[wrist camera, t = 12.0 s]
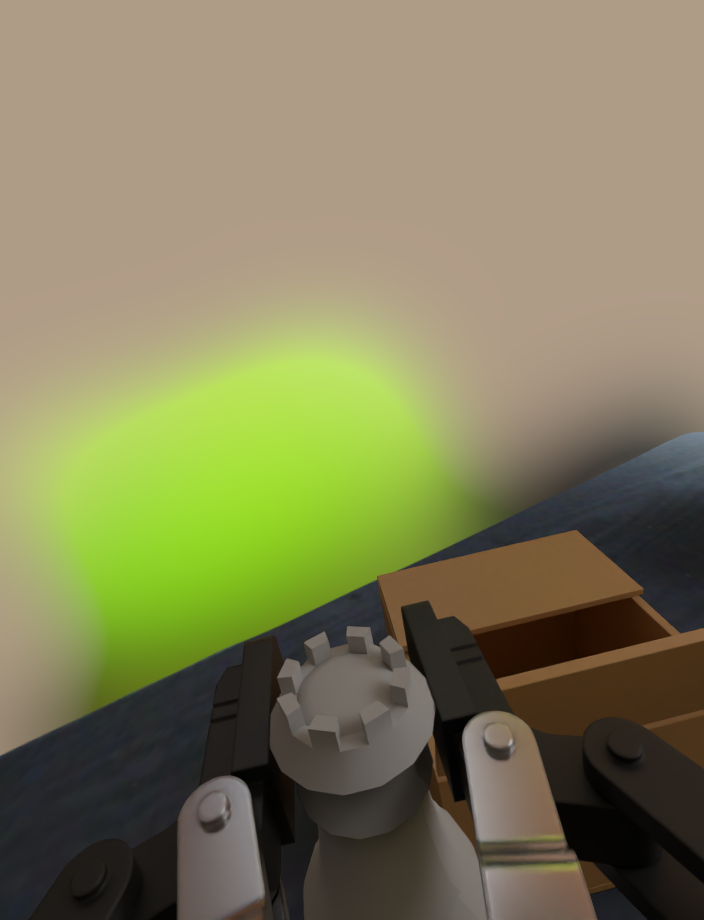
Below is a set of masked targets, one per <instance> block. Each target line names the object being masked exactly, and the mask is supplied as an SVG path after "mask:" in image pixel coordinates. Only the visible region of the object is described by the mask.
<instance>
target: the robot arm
mask: <svg viewBox="0 0 704 920" xmlns="http://www.w3.org/2000/svg"><path fill="white" fill-rule="evenodd" d="M401 613H402V619H403V625H404V630H405V636H406V642H407V648H408V653H409V658H410V663H411V664H412V665H413V666H414V667H415V668H416V669H417V670H418V671H419V672H420V673H421V674H422V675H423V676H424V677H425V678H426V679H427V681H428V684H429V687H430V689H431V692H432V695H433V698H434V701H435V704H436V710H435V717H434V725H433V732H432V734H433V737H434V740H435V744H436V747H437V750H438V753H439V756H440V759H441V762H442V765H443V769H444V772H445V775H446V778H447V781H448V784H449V787H450V790H451V794H452V797H453V800H454V803H455V802H459V801H463V800H466V802H467V805H468V808H469V810H470V813H471V816H472V819H473V826H474V833H475V840H476V847H477V854H478V861H479V868H480V875H481V882H482V888H483V895H484V902H485V909H486V916H487V920H597V917H596V914H595V910H594V907H593V904H592V901H591V898H590V894H589V891H588V888H587V885H586V881H585V878H584V875H583V872H582V869H581V866H580V863H579V861H585V862H593V863H594V864H595V865H596V867H597V868H598V869H599V870H600V871H601V872H602V873H603V874H604V875H605V876H606V877H607V878H608V879H609V880H610V881H611V882H612V883H613V884H614V885H615V887H616V888H617V889H618V890H619V891H620V892H621V893H622V894H623V895H624V896H625V897H626V898H627V899H628V900H629V901H630V902H631V903H632V904H633V905H634V906H635V907H636V908H637V909H638V910H639V911H640V912H641V913H642V914H643V915H644V916H645V917H646V918H647V919H648V920H704V769H703V768H702V767H701V766H699V765H698V764H696V763H695V762H693V761H692V760H691V759H689V758H688V757H686V756H685V755H684V754H682V753H681V752H679V751H678V750H676V749H675V748H674V747H672V746H671V745H669V744H668V743H667V742H665V741H664V740H662V739H661V738H659V737H658V736H657V735H655V734H654V733H652V732H651V731H649V730H648V729H646V728H645V727H643V726H642V725H640V724H638V723H636V722H633V721H630V720H627V719H623V718H616V717H606V718H601V719H598V720H596V721H594V722H592V723H591V724H590V725H589V726H588V727H587V728H586V730H585V731H584V734H583V736H569V735H555V734H548V733H544V732H541V731H538V730H536V729H534V728H532V727H530V726H528V725H527V724H526V723H525V722H524V721H523V720H521V719H520V718H518V717H517V716H516V715H515V714H514V712H513V711H512V709H511V708H510V706H509V704H508V702H507V700H506V698H505V696H504V694H503V692H502V690H501V689H500V687H499V685H498V683H497V681H496V679H495V677H494V675H493V673H492V671H491V669H490V667H489V665H488V664H487V662H486V660H485V659H484V656H483V654H482V652H481V650H480V648H479V646H477V642H476V640H475V639H474V637H473V635H472V633H471V631H470V629H469V627H468V626H466V625H465V624H464V623H462V622H461V621H460V620H459V619H457V618H456V617H455V616H450V617H446V618H441V619H437V617H436V615H435V613H434V611H433V608H432V606H431V604H430V602H429V601H428V600H427V601H422V602H418V603H414V604H409V605H405V606H401ZM283 665H284V663H283V659H282V656H281V653H280V649H279V646H278V642H277V639H276V637H275V636H274V635H273V636H269V637H264V638H260V639H256V640H251V641H247V642H245V645H244V653H243V662H242V665H238V666H233V667H229V668H227V669H226V671H225V672H224V674H223V676H222V677H221V679H220V681H219V682H218V684H217V685H216V690H215V696H214V702H213V708H212V714H211V720H210V721H211V724H210V726H209V731H208V737H207V743H206V749H205V755H204V761H203V767H202V773H201V779H200V784H199V787H198V788H197V789H196V790H195V791H194V792H193V793H192V794H191V795H190V796H189V798H188V799H187V801H186V802H185V804H184V805H183V807H182V809H181V812H180V814H179V818H178V820H177V821H176V822H175V823H174V824H173V825H171V826H170V827H169V828H167V829H166V830H164V831H163V832H161V833H159V834H158V835H156V836H154V837H153V838H151V839H149V840H147V841H146V842H144V843H142V844H141V845H139V846H137V847H135V848H134V849H132V850H131V849H130V847H129V846H128V845H127V843H125V842H124V841H122V840H119V839H105V840H102V841H99V842H97V843H94V844H92V845H91V846H89V847H87V848H86V849H84V850H83V851H82V852H80V853H79V854H78V855H77V856H76V857H74V858H73V859H72V860H71V861H70V862H69V864H68V865H67V866H66V867H65V868H64V870H63V871H62V872H61V873H60V875H59V876H58V878H57V879H56V881H55V882H54V884H53V885H52V887H51V888H50V889H49V891H48V892H47V894H46V895H45V897H44V898H43V900H42V901H41V903H40V904H39V906H38V907H37V908H36V910H35V911H34V913H33V914H32V916H31V917H30V919H29V920H290V918H289V913H288V907H287V902H286V896H285V890H284V885H283V881H282V877H281V846H282V845H286V844H290V843H294V842H295V816H294V780H293V779H292V778H290V777H289V776H287V775H286V774H285V773H283V772H282V771H281V770H280V768H279V766H278V764H277V761H276V759H275V757H274V755H273V753H272V751H271V749H270V745H269V739H270V715H271V713H272V710H273V708H274V706H275V704H276V702H277V698H279V696H280V694H281V690H280V686H279V683H278V680H277V677H278V675H279V673H280V671H281V669H282V667H283Z"/></svg>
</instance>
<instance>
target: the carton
mask: <svg viewBox="0 0 704 920" xmlns="http://www.w3.org/2000/svg"><path fill="white" fill-rule="evenodd" d="M377 579H378V583H379V586H378V588H379V593H380V599H381V604H382V609H383V614H384V619H385V624H386V629H387V634H388V636H389V635H390V636H391V637H392V638H393V639H394V640H395V641H396V642H397V643H398V644H399V645H400V646H401V647H403V648H404V654H405V659H406V660H408V661H409V662H410V658H409V653H408V648H407V642H406V636H405V630H404V625H403V619H402V613H401V606H405V605H409V604H414V603H418V602H422V601H427V600H428V601H429V602H430V604H431V606H432V608H433V611H434V613H435V615H436V617H437V619H441V618H446V617H450V616H455V617H456V618H457V619H459V620H460V621H461V622H462V623H464V624H465V625H466V626H468V627H469V629H470V631H471V633H472V635H473V637H474V639H475V640H476V642H477V646H479V648H480V650H481V652H482V654H483V656H484V659H485V660H486V662H487V664H488V665H489V667H490V669H491V671H492V673H493V675H494V677H495V679H499V678H503V677H507V676H511V675H515V674H520V673H524V672H528V671H532V670H536V669H540V668H544V667H548V666H552V665H556V664H560V663H564V662H568V661H572V660H576V659H581V658H585V657H589V656H593V655H597V654H601V653H605V652H609V651H613V650H617V649H621V648H625V647H629V646H633V645H637V644H641V643H646V642H650V641H654V640H658V639H662V638H666V637H670V636H674V635H678V634H680V633H679V632H678V631H677V630H676V629H675V628H674V627H673V626H671V625H670V624H669V623H668V622H667V621H666V620H665V619H664V618H663V617H661V616H660V615H659V614H658V613H657V612H656V611H655V610H654V609H653V608H652V607H650V606H649V605H648V604H647V603H646V602H645V601H644V600H643V599H642V598H640V597H639V596H638V595H643V588H642V587H641V586H640V585H639V584H637V583H636V582H635V581H634V580H633V579H632V578H630V577H629V576H628V575H627V574H626V573H625V572H624V571H622V570H621V569H620V568H619V567H618V566H617V565H616V564H614V563H613V562H612V561H611V560H610V559H609V558H608V557H606V556H605V555H604V554H603V553H602V552H601V551H600V550H598V549H597V548H596V547H595V546H594V545H593V544H592V543H590V542H589V541H588V540H587V539H586V538H585V537H584V536H582V535H581V534H580V533H579V532H578V531H577V530H574V531H569V532H565V533H561V534H556V535H552V536H548V537H543V538H539V539H535V540H531V541H526V542H522V543H518V544H513V545H509V546H505V547H500V548H496V549H492V550H487V551H483V552H479V553H474V554H470V555H466V556H461V557H457V558H453V559H448V560H444V561H440V562H435V563H431V564H427V565H423V566H418V567H414V568H410V569H405V570H401V571H397V572H392V573H388V574H384V575H380V576H377ZM642 726H643V727H645V728H646V729H648V730H649V731H651V732H652V733H654V734H655V735H657V736H658V737H659V738H661V739H662V740H664V741H665V742H667V743H668V744H669V745H671V746H672V747H674V748H675V749H676V750H678V751H679V752H681V753H682V754H684V755H685V756H686V757H688V758H689V759H691V760H692V761H693V762H695V763H696V764H698V765H699V766H701V767H702V768H703V769H704V710H700V711H696V712H692V713H688V714H684V715H680V716H677V717H673V718H669V719H665V720H661V721H657V722H653V723H649V724H645V725H642ZM428 745H429V749H430V752H431V755H432V759H433V767H432V775H431V783H430V788H429V791H430V794H431V797H432V799H433V801H435V802H436V803H437V804H438V806H439V807H441V808H443V809H444V810H446V811H447V812H448V813H449V814H450V816H451V817H452V818H453V819H454V821H455V822H456V823H457V825H458V826H459V827H460V828H461V830H462V831H463V832H464V833H465V835H466V836H467V837H468V839H469V840H470V842H471V843H472V845H473V846H474V849H475V852H476V855H477V858H478V854H477V847H476V840H475V833H474V826H473V819H472V816H471V813H470V810H469V808H468V805H467V802H466V800H463V801H459V802H455V803H454V800H453V797H452V794H451V790H450V787H449V784H448V781H447V778H446V776H442V777H438V774H437V770H436V762H435V740H434V737H433V734H432V736H431V737H430V739H429V740H428ZM579 863H580V866H581V869H582V872H583V875H584V878H585V881H586V885H587V888H588V891H589V894H593V893H596V892H600V891H604V890H607V889H611V888H615V885H614V884H613V883H612V882H611V881H610V880H609V879H608V878H607V877H606V876H605V875H604V874H603V873H602V872H601V871H600V870H599V869H598V868H597V867H596V865H595V864H594V863H593V862H585V861H579Z"/></svg>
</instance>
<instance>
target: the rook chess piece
mask: <svg viewBox="0 0 704 920" xmlns="http://www.w3.org/2000/svg"><path fill="white" fill-rule="evenodd" d="M346 637H347V642H348V644H347V645H342V646H338V647H334V648H330V646H329V642H328V639H327V636H326V634H325V632H323V633H321V634H319V635H317V636H315V637H313V638H311V639H309V640H307V641H306V642H304V647H305V651H306V654H307V658H308V660H307V661H306V662H305V663H304V664H303V665H302V666H301V667H300V664H299V662H298V661H294V660H291V659H286V661H285V663H284V665H283V667H282V669H281V671H280V673H279V675H278V677H277V680H278V683H279V686H280V690H281V694H280V696H279V698H277V702H276V704H275V706H274V708H273V710H272V713H271V715H270V739H269V745H270V749H271V751H272V753H273V755H274V757H275V759H276V761H277V764H278V766H279V768H280V770H281V771H282V772H283V773H285V774H286V775H287V776H289V777H290V778H292V779H293V780H294V781H296V782H297V795H298V797H299V799H300V801H301V803H302V805H303V807H304V809H305V811H306V813H307V815H308V817H309V818H310V819H311V820H313V821H314V822H315V823H317V824H318V835H319V838H318V841H317V842H316V844H315V847H314V850H313V854H312V857H311V860H310V864H309V867H308V870H307V873H306V877H305V880H304V890H303V892H304V920H487V916H486V909H485V902H484V895H483V888H482V882H481V875H480V868H479V861H478V858H477V855H476V852H475V849H474V846H473V845H472V843H471V842H470V840H469V839H468V837H467V836H466V835H465V833H464V832H463V831H462V830H461V828H460V827H459V826H458V825H457V823H456V822H455V821H454V819H453V818H452V817H451V816H450V814H449V813H448V812H447V811H446V810H444V809H443V808H441V807H439V806H438V804H437V803H436V802H435V801H433V799H432V797H431V794H430V791H429V788H430V783H431V775H432V767H433V759H432V755H431V752H430V749H429V745H428V740H429V739H430V737H431V736H432V732H433V725H434V717H435V710H436V704H435V701H434V698H433V695H432V692H431V689H430V687H429V684H428V681H427V679H426V678H425V677H424V676H423V675H422V674H421V673H420V672H419V671H418V670H417V669H416V668H415V667H414V666H413V665H412V664H411V663H410V662H409V661H408V660H406V659H405V654H404V648H403V647H401V646H400V645H399V644H398V643H397V642H396V641H395V640H394V639H393V638H392V637H391V636H390V635H389V636H388V637H386V638H385V639H384V640H382V641H381V642H380V643H379V644H380V647H378V646H375V645H373V640H372V635H371V630H370V627H350V626H347V634H346Z"/></svg>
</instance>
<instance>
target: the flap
mask: <svg viewBox="0 0 704 920" xmlns="http://www.w3.org/2000/svg"><path fill="white" fill-rule="evenodd" d="M496 681H497V683H498V685H499V687H500V689H501V690H502V692H503V694H504V696H505V698H506V700H507V702H508V704H509V706H510V708H511V709H512V711H513V712H514V714H515V715H516V716H517V717H518V718H520V719H521V720H523V721H524V722H525V723H526V724H527V725H528V726H530V727H532V728H534V729H536V730H538V731H541V732H544V733H548V734H555V735H569V736H583V734H584V731H585V730H586V728H587V727H588V726H589V725H590V724H591V723H592V722H594V721H596V720H598V719H601V718H606V717H616V718H623V719H627V720H630V721H633V722H636V723H638V724H640V725H645V724H649V723H653V722H657V721H661V720H665V719H669V718H673V717H677V716H680V715H684V714H688V713H692V712H696V711H700V710H704V628H702V629H698V630H694V631H690V632H686V633H682V634H678V635H674V636H670V637H666V638H662V639H658V640H654V641H650V642H646V643H641V644H637V645H633V646H629V647H625V648H621V649H617V650H613V651H609V652H605V653H601V654H597V655H593V656H589V657H585V658H581V659H576V660H572V661H568V662H564V663H560V664H556V665H552V666H548V667H544V668H540V669H536V670H532V671H528V672H524V673H520V674H515V675H511V676H507V677H503V678H499V679H496ZM435 762H436V770H437V774H438V777H442V776H446V775H445V772H444V769H443V765H442V762H441V759H440V756H439V753H438V750H437V747H436V744H435Z"/></svg>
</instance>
